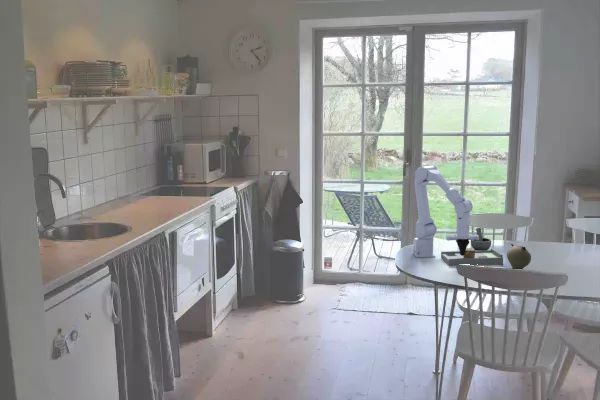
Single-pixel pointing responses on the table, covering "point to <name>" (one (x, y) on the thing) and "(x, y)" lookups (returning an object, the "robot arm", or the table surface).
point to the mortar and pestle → (480, 242)
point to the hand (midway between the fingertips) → (462, 255)
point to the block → (469, 253)
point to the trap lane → (480, 258)
